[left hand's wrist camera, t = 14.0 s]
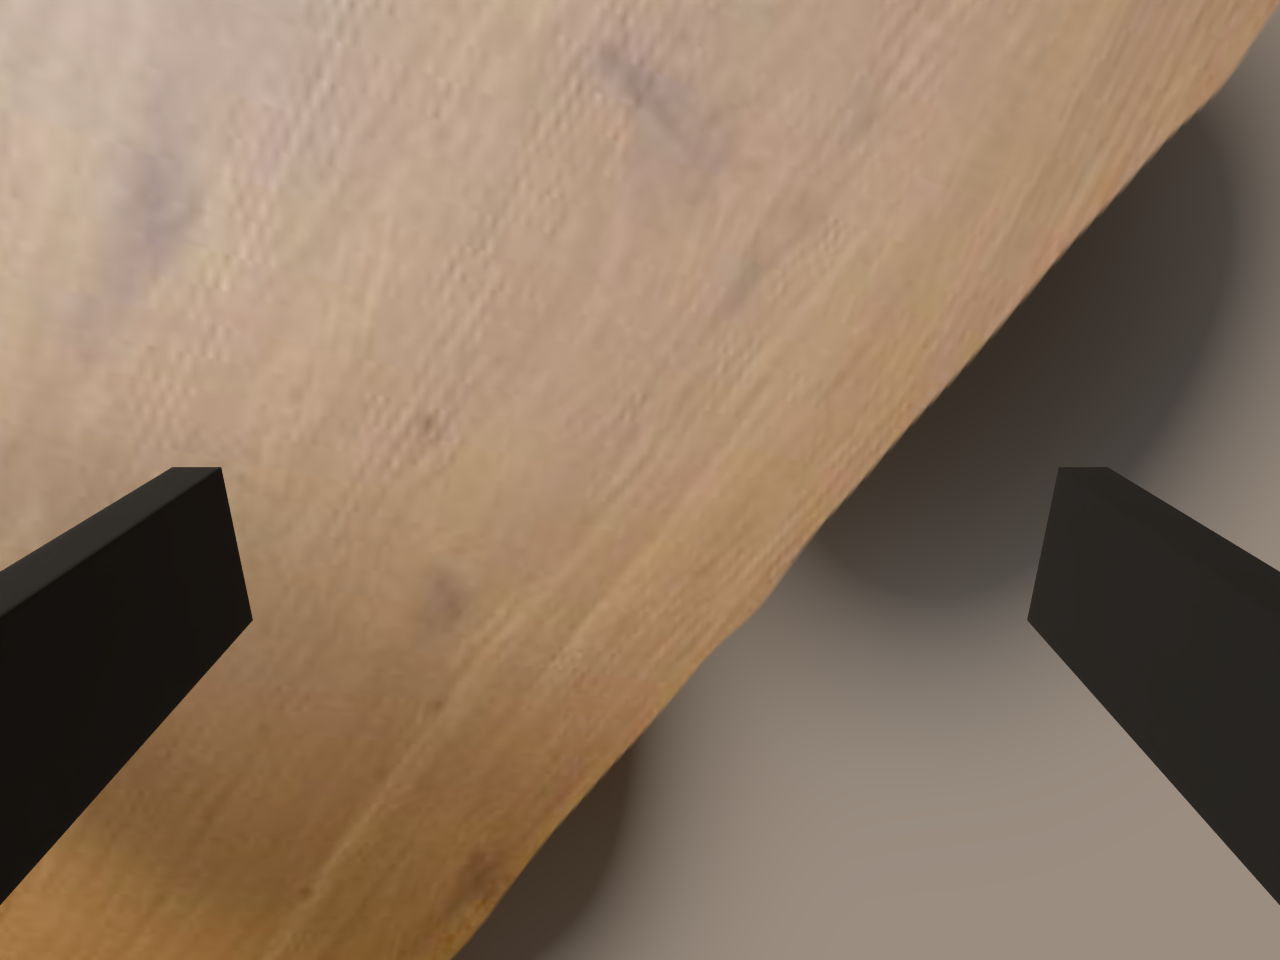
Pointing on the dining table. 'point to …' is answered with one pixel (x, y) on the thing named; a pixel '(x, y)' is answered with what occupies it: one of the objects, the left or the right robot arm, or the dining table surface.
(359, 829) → the dining table surface
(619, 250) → the dining table surface
